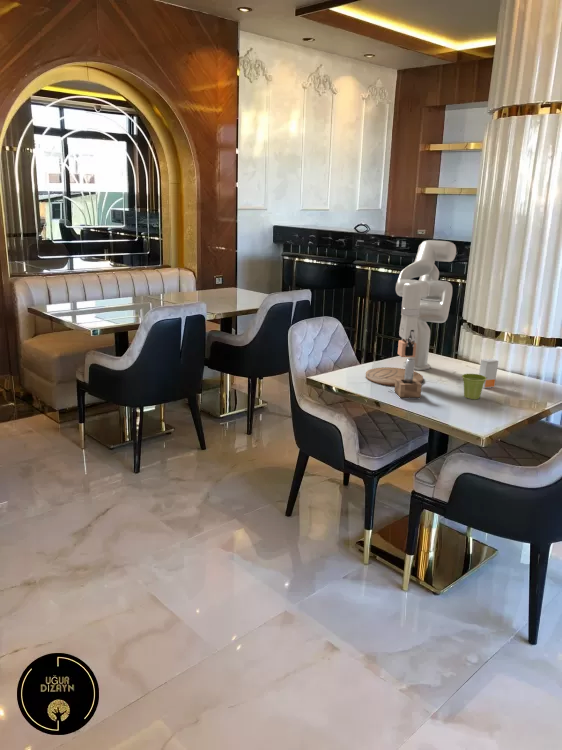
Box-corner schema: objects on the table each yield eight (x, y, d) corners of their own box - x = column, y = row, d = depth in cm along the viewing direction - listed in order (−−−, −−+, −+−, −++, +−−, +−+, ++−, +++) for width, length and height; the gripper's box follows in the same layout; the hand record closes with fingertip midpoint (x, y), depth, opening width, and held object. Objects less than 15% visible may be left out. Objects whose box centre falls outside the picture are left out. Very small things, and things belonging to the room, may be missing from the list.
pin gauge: (401, 391, 252) (405, 358, 248) (410, 392, 252) (413, 358, 248) (404, 394, 248) (407, 361, 244) (412, 394, 249) (415, 361, 245)
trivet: (429, 377, 277) (430, 373, 277) (412, 391, 256) (412, 387, 256) (377, 368, 289) (377, 364, 288) (356, 381, 268) (356, 377, 268)
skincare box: (483, 388, 262) (487, 361, 258) (477, 385, 265) (480, 359, 262) (495, 387, 264) (498, 360, 260) (488, 384, 268) (492, 358, 264)
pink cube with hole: (397, 353, 267) (398, 339, 265) (411, 353, 268) (412, 340, 266) (401, 357, 261) (402, 343, 260) (415, 357, 262) (416, 343, 260)
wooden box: (394, 392, 254) (395, 378, 252) (414, 392, 255) (415, 378, 253) (399, 399, 246) (401, 384, 244) (420, 399, 247) (421, 384, 245)
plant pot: (466, 401, 245) (469, 380, 242) (455, 394, 254) (458, 373, 251) (488, 400, 247) (490, 379, 244) (476, 393, 255) (479, 373, 253)
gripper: (396, 308, 267) (392, 348, 272) (407, 315, 251) (403, 358, 256) (412, 308, 268) (409, 349, 273) (425, 316, 251) (421, 358, 256)
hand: (406, 353), depth 264 cm, fingers closed on pink cube with hole, 6 cm apart
